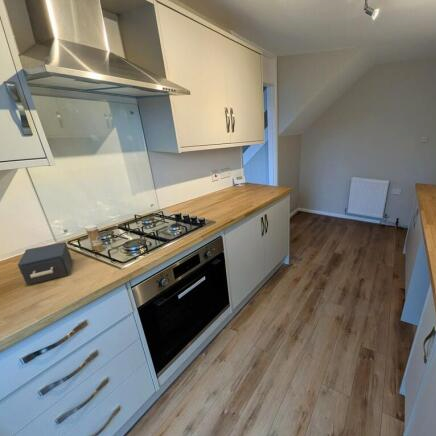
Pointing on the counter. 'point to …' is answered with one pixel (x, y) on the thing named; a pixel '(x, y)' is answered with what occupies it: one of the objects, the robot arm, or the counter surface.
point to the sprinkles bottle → (94, 238)
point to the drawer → (43, 270)
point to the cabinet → (47, 256)
